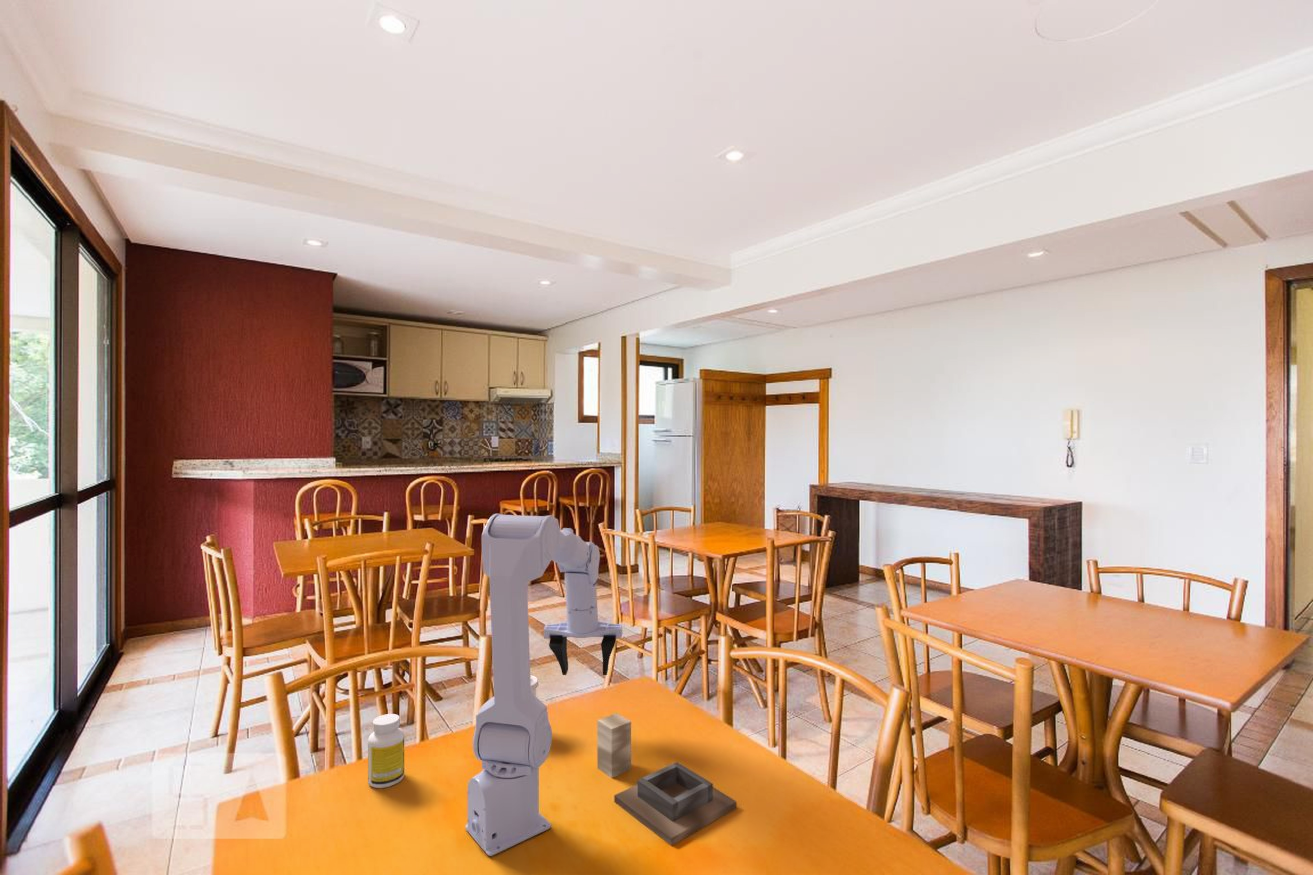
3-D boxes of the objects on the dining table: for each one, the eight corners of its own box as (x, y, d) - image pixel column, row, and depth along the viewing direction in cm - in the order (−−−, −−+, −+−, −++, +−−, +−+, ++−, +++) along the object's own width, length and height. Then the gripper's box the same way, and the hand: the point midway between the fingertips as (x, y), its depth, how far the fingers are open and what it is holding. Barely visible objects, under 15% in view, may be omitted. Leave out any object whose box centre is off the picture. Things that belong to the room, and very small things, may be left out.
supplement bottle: (410, 779, 101) (410, 718, 100) (376, 793, 97) (376, 730, 97) (395, 766, 104) (395, 708, 104) (362, 779, 100) (361, 719, 100)
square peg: (611, 777, 101) (611, 728, 101) (597, 767, 104) (597, 720, 104) (631, 769, 104) (631, 721, 103) (616, 759, 107) (616, 713, 107)
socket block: (671, 845, 85) (671, 819, 85) (614, 801, 95) (614, 778, 94) (736, 807, 93) (736, 784, 93) (677, 771, 103) (677, 750, 103)
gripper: (623, 595, 119) (625, 661, 122) (548, 595, 120) (552, 661, 122) (618, 611, 112) (621, 680, 115) (539, 611, 113) (543, 680, 115)
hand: (585, 672), depth 118 cm, fingers open, 7 cm apart
